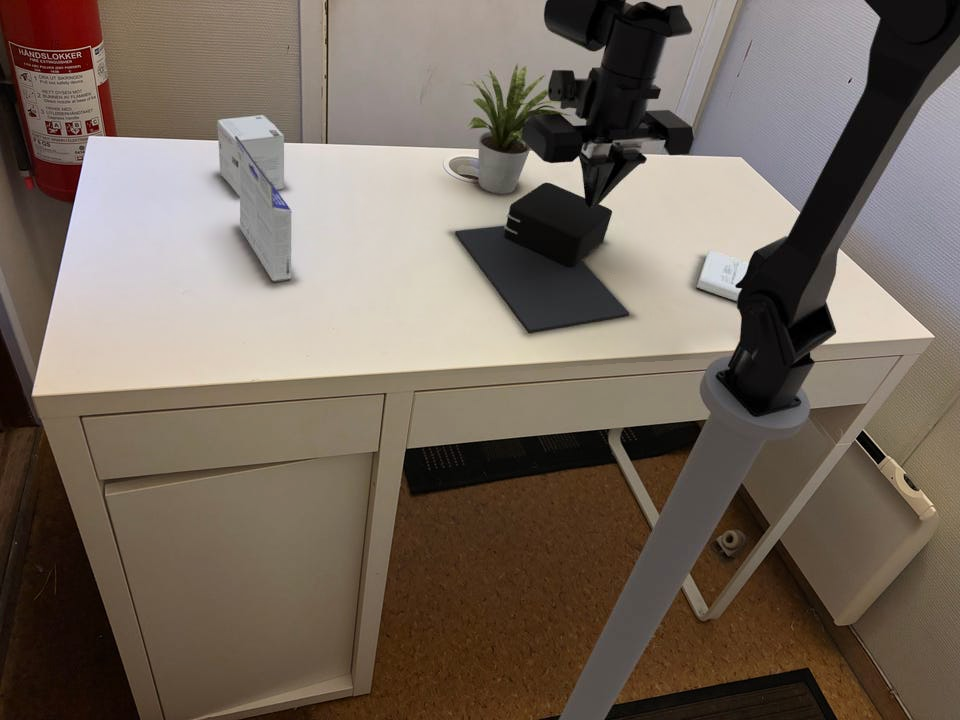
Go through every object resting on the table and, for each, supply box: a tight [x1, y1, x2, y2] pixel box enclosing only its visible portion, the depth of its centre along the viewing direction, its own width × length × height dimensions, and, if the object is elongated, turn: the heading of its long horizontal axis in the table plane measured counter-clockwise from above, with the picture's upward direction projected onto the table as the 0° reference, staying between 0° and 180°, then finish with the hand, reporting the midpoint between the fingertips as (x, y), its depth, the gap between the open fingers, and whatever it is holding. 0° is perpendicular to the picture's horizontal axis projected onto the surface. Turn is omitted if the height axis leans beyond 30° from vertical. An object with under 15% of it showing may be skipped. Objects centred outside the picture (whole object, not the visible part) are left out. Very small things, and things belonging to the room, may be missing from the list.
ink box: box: [235, 136, 292, 282], centre depth 80 cm, size 12×2×12 cm, turn 31°
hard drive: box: [696, 249, 749, 302], centre depth 93 cm, size 2×8×12 cm
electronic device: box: [503, 182, 613, 267], centre depth 94 cm, size 4×10×10 cm
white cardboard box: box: [216, 114, 285, 197], centre depth 92 cm, size 6×6×7 cm
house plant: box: [461, 63, 572, 195], centre depth 98 cm, size 14×14×16 cm
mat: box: [454, 225, 631, 334], centre depth 89 cm, size 20×13×1 cm, turn 25°
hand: (590, 205), depth 86 cm, fingers closed
